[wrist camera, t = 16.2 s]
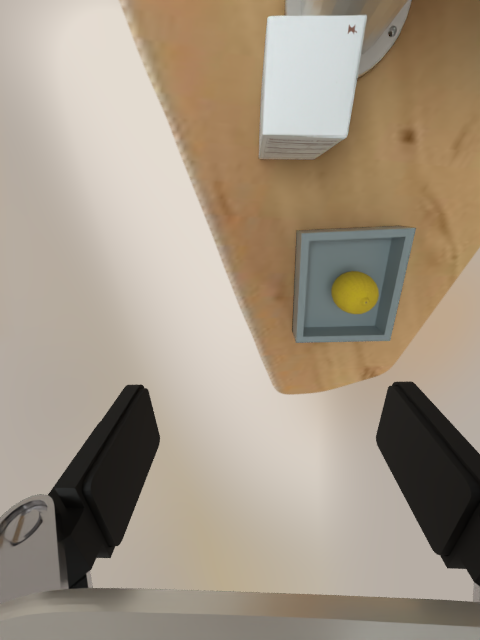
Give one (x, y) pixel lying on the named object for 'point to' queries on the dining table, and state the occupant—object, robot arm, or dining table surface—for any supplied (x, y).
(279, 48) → the supplement box
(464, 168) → the dining table surface
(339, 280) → the lemon
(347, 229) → the walled box
